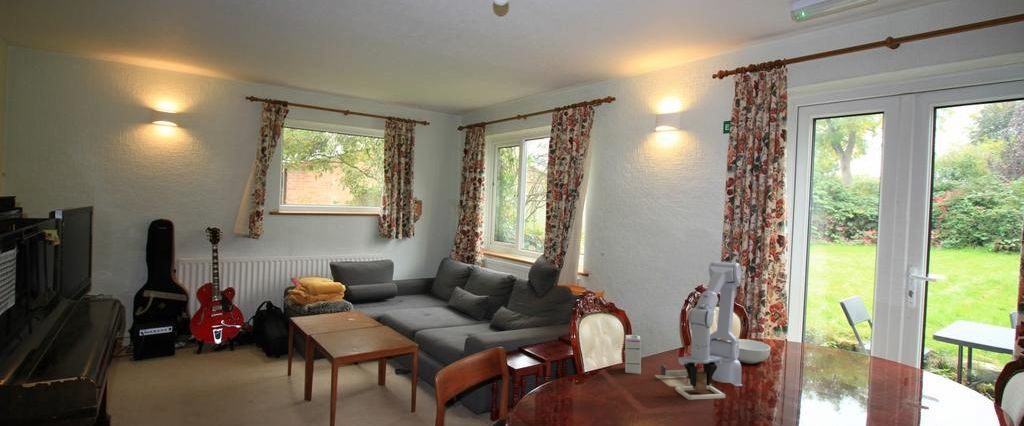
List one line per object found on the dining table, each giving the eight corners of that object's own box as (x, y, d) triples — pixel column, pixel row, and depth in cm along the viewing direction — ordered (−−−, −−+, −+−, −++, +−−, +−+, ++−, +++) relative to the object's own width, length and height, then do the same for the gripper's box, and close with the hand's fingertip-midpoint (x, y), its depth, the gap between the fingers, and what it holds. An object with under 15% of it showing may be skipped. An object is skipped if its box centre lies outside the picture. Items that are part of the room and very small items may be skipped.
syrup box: (641, 377, 186) (641, 338, 186) (624, 376, 187) (625, 337, 187) (640, 372, 191) (640, 335, 191) (624, 371, 193) (625, 334, 193)
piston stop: (701, 386, 169) (701, 369, 169) (709, 390, 164) (709, 373, 164) (690, 386, 168) (690, 370, 168) (697, 391, 163) (697, 374, 164)
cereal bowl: (717, 357, 214) (717, 341, 214) (744, 353, 221) (744, 337, 221) (751, 369, 198) (751, 351, 198) (779, 364, 205) (779, 347, 205)
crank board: (694, 377, 187) (694, 372, 187) (712, 389, 175) (712, 383, 175) (654, 379, 184) (654, 374, 184) (669, 390, 172) (669, 385, 172)
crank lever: (692, 374, 184) (692, 363, 184) (696, 377, 181) (696, 366, 181) (658, 375, 182) (659, 364, 182) (662, 378, 179) (663, 367, 179)
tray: (710, 392, 171) (710, 385, 171) (725, 402, 163) (725, 394, 163) (675, 394, 169) (675, 386, 169) (688, 404, 161) (688, 396, 161)
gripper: (686, 348, 161) (685, 390, 161) (727, 347, 163) (726, 388, 163) (675, 342, 168) (675, 382, 168) (715, 341, 170) (714, 381, 170)
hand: (699, 385), depth 166 cm, fingers closed on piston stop, 4 cm apart
